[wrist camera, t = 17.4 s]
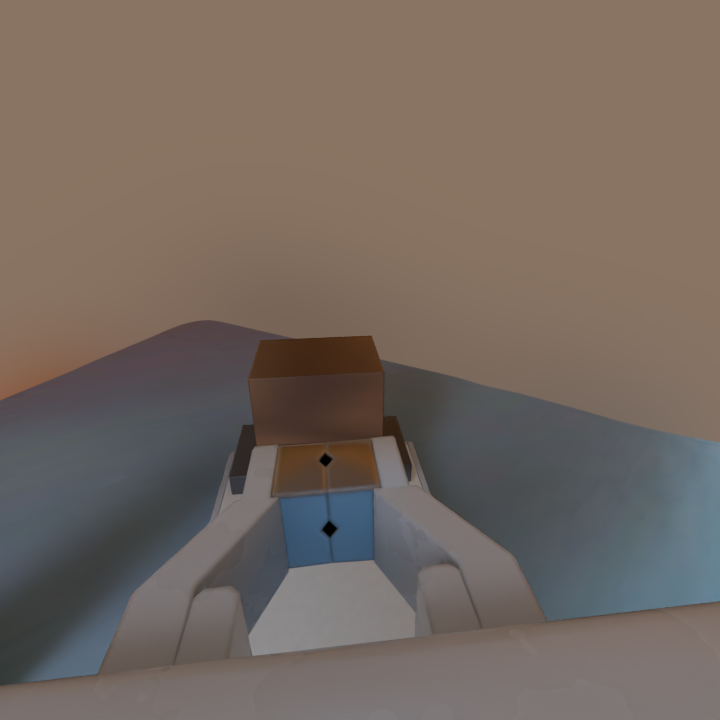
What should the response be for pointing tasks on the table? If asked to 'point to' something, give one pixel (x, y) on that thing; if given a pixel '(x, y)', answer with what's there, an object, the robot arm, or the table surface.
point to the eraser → (315, 397)
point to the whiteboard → (329, 597)
